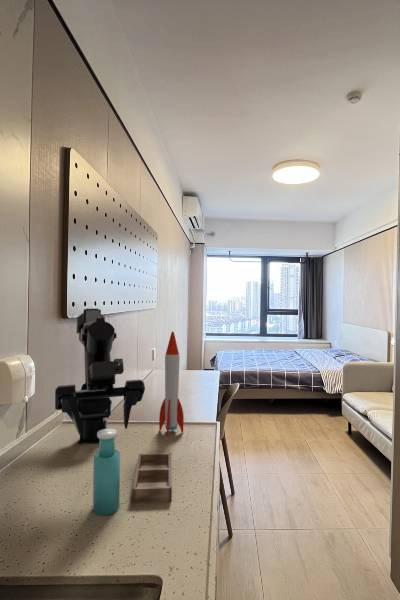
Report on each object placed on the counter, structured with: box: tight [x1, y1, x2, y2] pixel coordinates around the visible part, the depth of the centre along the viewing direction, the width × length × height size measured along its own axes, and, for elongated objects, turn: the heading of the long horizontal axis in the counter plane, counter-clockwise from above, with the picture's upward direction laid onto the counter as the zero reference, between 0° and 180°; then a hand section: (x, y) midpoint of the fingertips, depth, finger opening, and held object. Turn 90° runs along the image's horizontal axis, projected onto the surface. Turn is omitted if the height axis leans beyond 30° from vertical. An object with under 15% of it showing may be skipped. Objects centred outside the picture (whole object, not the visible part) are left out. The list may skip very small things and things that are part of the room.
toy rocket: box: [158, 330, 185, 437], centre depth 101 cm, size 6×6×30 cm
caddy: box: [131, 452, 173, 504], centre depth 74 cm, size 8×15×3 cm, turn 5°
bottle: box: [92, 428, 121, 516], centre depth 64 cm, size 5×5×14 cm
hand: (103, 430), depth 70 cm, fingers open, 9 cm apart
